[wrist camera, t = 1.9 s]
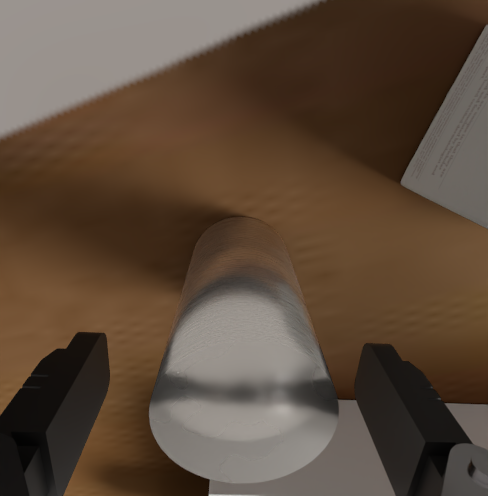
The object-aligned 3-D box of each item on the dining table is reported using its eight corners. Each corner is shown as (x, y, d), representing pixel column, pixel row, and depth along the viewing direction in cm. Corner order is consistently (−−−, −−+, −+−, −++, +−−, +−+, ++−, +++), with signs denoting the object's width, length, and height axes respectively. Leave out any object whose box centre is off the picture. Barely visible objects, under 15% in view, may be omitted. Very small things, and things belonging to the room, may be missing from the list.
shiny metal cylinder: (293, 219, 18) (354, 345, 9) (283, 306, 20) (324, 485, 11) (192, 214, 18) (145, 336, 8) (191, 302, 20) (152, 481, 10)
